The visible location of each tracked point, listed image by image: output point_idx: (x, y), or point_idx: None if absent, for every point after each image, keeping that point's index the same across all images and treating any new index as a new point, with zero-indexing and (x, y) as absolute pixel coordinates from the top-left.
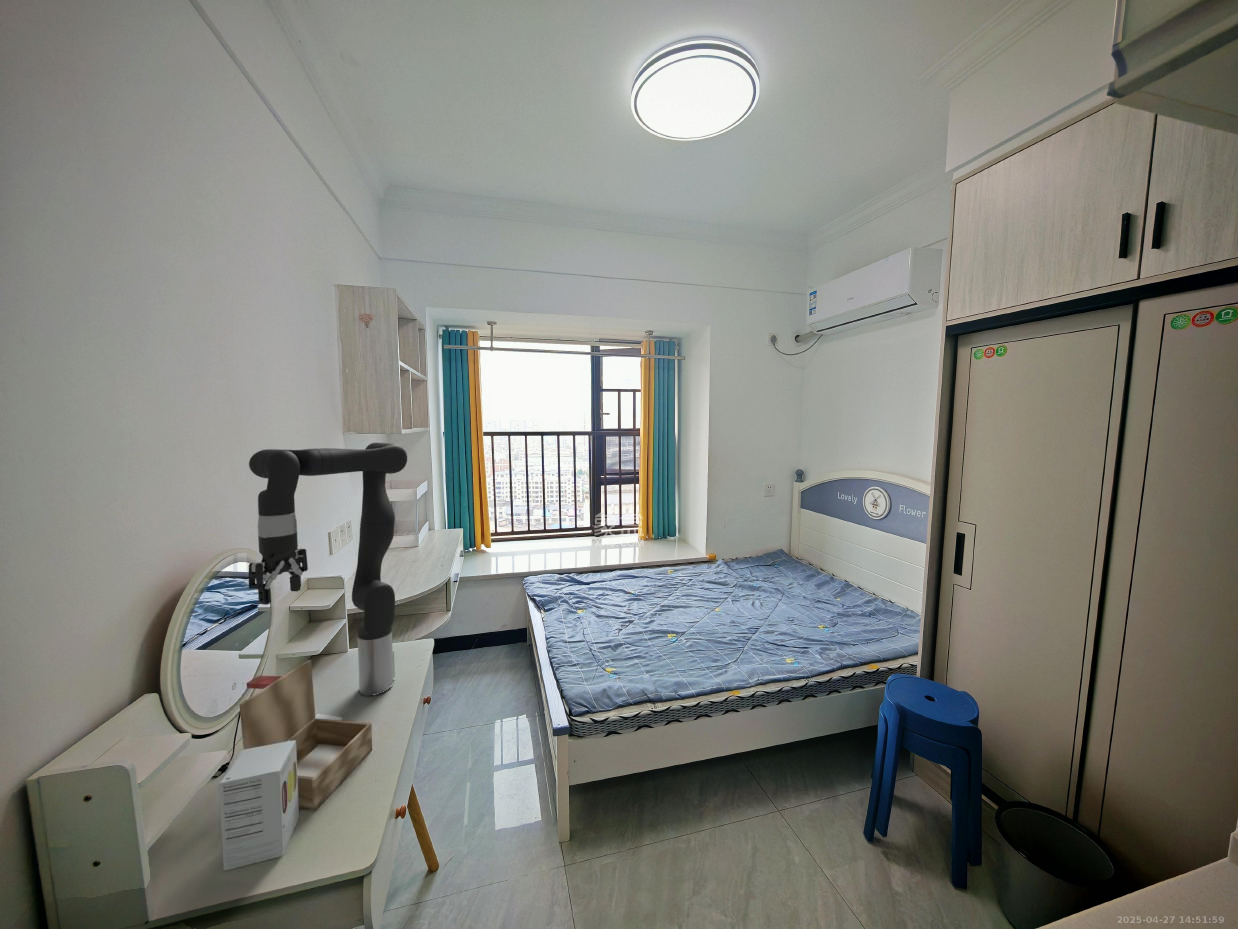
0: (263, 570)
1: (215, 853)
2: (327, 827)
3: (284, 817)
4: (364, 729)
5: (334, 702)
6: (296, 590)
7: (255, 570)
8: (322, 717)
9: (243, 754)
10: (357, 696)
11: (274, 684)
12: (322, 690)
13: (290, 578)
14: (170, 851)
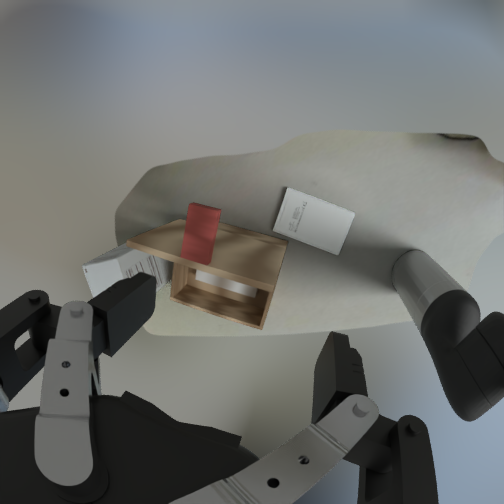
0: (46, 390)
1: (145, 220)
2: (169, 300)
3: None
4: (249, 325)
5: (388, 223)
6: (317, 361)
7: None
8: (343, 227)
9: (111, 264)
10: (396, 252)
11: (181, 263)
12: (424, 190)
13: (334, 385)
14: (148, 178)
